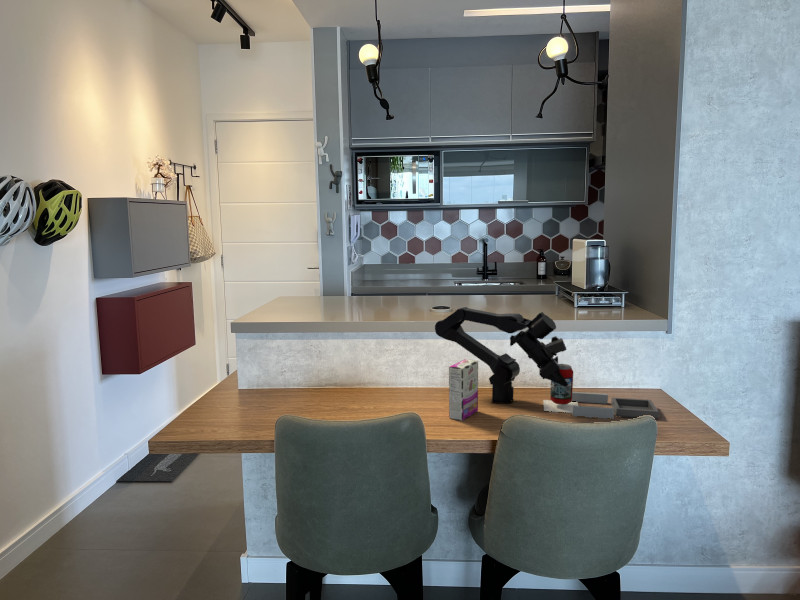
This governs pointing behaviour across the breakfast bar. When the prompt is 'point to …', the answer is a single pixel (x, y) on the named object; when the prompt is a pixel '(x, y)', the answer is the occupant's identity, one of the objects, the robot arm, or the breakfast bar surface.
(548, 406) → the pad
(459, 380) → the candy bar box
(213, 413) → the breakfast bar surface
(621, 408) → the box
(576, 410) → the channel walls
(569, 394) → the beverage can
